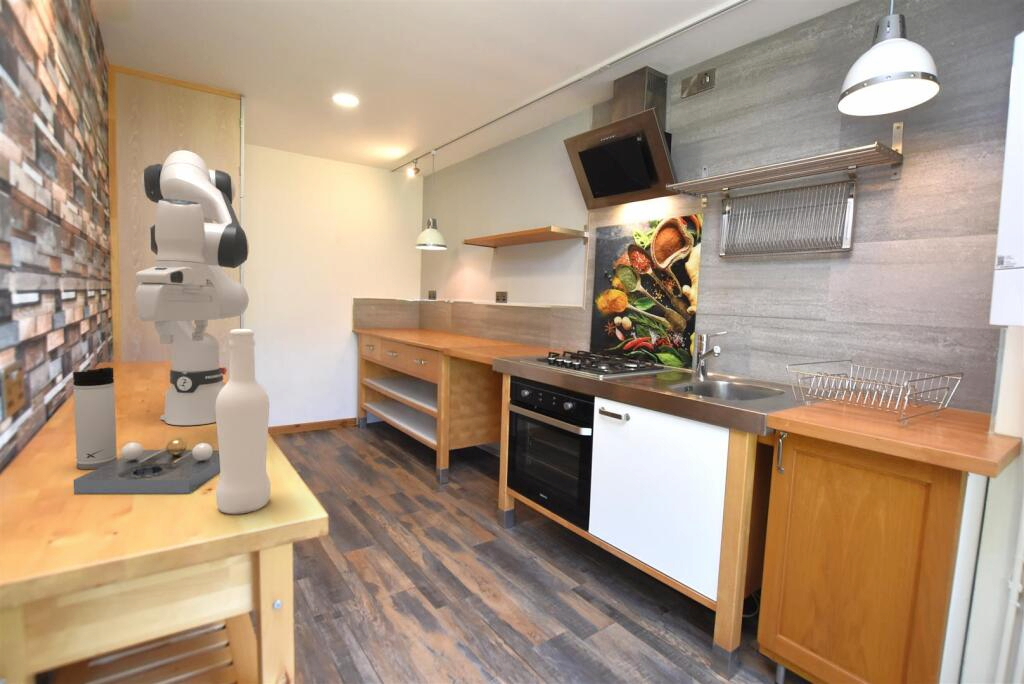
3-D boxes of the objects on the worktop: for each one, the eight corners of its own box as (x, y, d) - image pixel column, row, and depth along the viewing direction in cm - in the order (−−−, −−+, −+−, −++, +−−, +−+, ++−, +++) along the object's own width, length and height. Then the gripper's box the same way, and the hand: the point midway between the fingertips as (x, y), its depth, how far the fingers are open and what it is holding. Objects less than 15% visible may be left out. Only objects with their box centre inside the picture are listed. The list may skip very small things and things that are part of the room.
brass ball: (172, 452, 102) (172, 436, 101) (190, 452, 102) (190, 436, 102) (162, 458, 98) (161, 441, 98) (180, 458, 99) (180, 441, 98)
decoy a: (198, 457, 99) (197, 440, 99) (216, 457, 100) (216, 440, 99) (188, 463, 96) (187, 445, 96) (207, 463, 96) (206, 445, 96)
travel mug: (95, 471, 97) (91, 370, 95) (68, 468, 98) (63, 368, 96) (126, 461, 103) (123, 366, 101) (100, 458, 104) (96, 364, 102)
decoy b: (129, 457, 98) (128, 439, 98) (147, 457, 99) (147, 440, 98) (116, 463, 95) (116, 445, 94) (136, 463, 95) (135, 445, 95)
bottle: (247, 492, 89) (245, 326, 87) (281, 501, 86) (280, 329, 84) (204, 510, 82) (201, 328, 79) (240, 519, 79) (238, 331, 76)
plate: (138, 461, 103) (138, 446, 103) (234, 462, 105) (233, 446, 104) (74, 493, 86) (73, 475, 86) (189, 493, 88) (188, 475, 88)
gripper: (200, 279, 115) (201, 338, 116) (128, 272, 94) (130, 345, 95) (226, 279, 114) (227, 339, 115) (160, 273, 94) (162, 346, 95)
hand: (183, 342), depth 105 cm, fingers open, 8 cm apart
